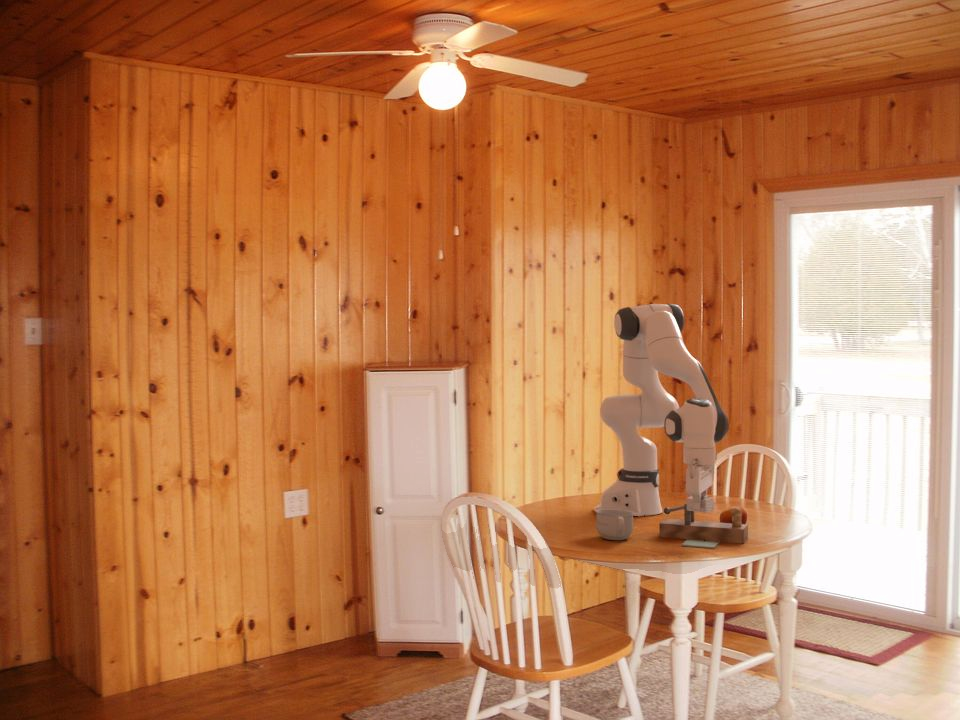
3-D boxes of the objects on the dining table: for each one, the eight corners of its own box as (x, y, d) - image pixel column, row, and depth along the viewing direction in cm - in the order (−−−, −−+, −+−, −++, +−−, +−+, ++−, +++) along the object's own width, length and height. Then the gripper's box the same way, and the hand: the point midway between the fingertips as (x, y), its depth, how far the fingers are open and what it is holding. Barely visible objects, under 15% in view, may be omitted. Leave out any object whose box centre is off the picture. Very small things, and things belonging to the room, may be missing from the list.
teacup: (596, 534, 282) (595, 507, 282) (633, 534, 281) (632, 507, 281) (597, 545, 268) (596, 516, 268) (636, 545, 267) (635, 517, 267)
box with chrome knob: (686, 510, 266) (686, 496, 266) (694, 508, 269) (694, 494, 269) (706, 512, 262) (706, 498, 262) (713, 510, 266) (713, 496, 266)
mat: (681, 546, 265) (681, 544, 265) (687, 540, 271) (687, 539, 271) (714, 548, 261) (714, 547, 261) (719, 543, 268) (719, 541, 268)
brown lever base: (659, 537, 277) (659, 502, 277) (665, 532, 283) (665, 498, 283) (743, 543, 267) (743, 508, 266) (747, 538, 273) (747, 503, 273)
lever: (682, 525, 276) (661, 512, 278) (684, 523, 279) (664, 510, 281) (701, 492, 273) (679, 479, 276) (703, 490, 276) (682, 478, 279)
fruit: (737, 529, 279) (727, 503, 282) (721, 538, 285) (712, 513, 289) (757, 526, 283) (747, 501, 286) (741, 535, 289) (732, 511, 292)
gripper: (703, 462, 255) (703, 513, 255) (717, 453, 273) (718, 501, 274) (679, 461, 257) (680, 512, 258) (695, 452, 276) (696, 499, 276)
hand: (699, 506), depth 266 cm, fingers closed on box with chrome knob, 5 cm apart
